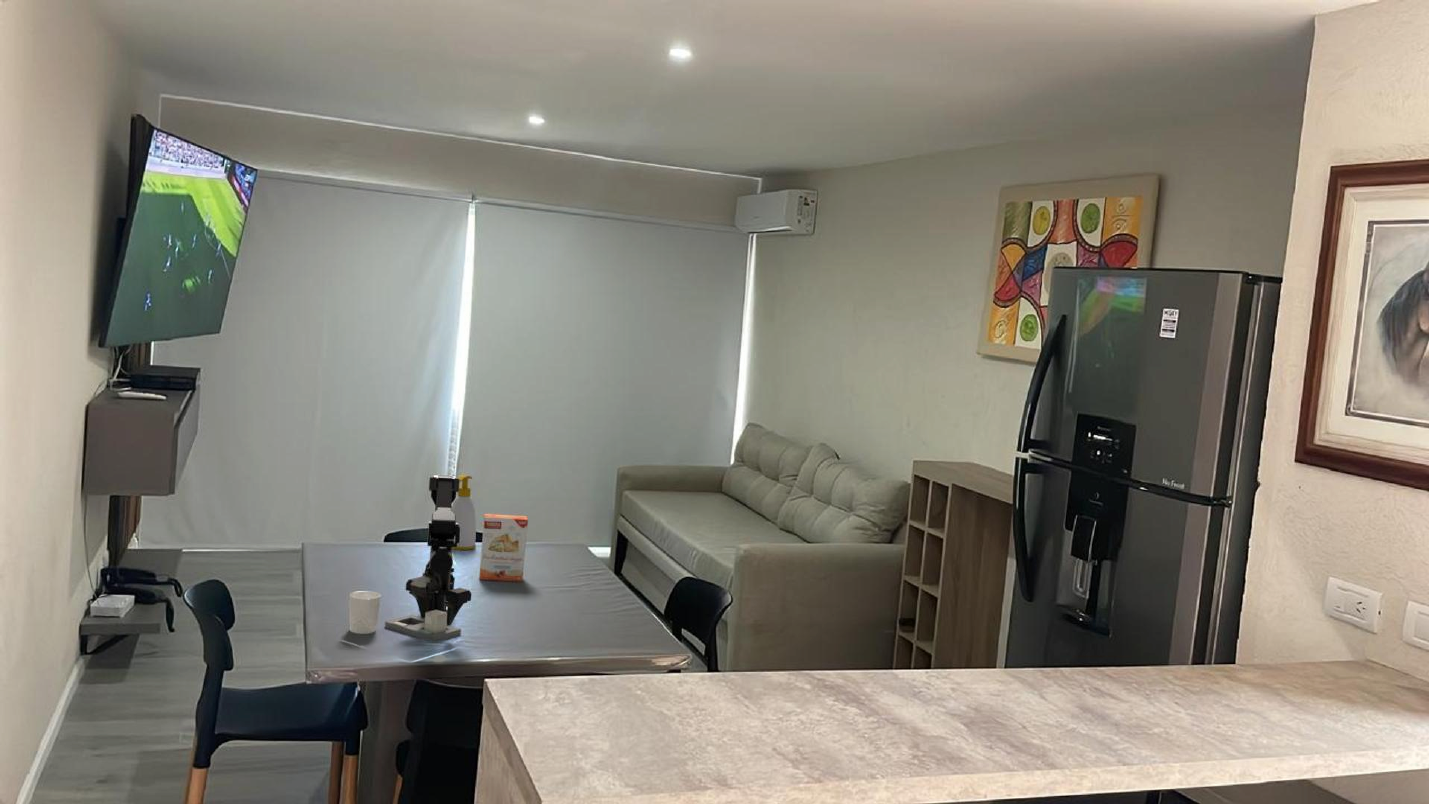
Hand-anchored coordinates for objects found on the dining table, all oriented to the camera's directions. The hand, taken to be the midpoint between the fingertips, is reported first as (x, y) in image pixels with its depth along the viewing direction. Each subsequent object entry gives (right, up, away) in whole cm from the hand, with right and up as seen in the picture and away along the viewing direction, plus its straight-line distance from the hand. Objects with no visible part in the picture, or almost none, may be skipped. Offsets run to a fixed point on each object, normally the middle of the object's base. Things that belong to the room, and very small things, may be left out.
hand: (435, 621), depth 304 cm
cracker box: (+5, +1, +66) cm, 67 cm away
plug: (0, -3, 0) cm, 4 cm away
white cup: (-19, -3, -1) cm, 19 cm away
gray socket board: (-4, -3, +3) cm, 6 cm away
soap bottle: (-17, +6, +105) cm, 107 cm away
